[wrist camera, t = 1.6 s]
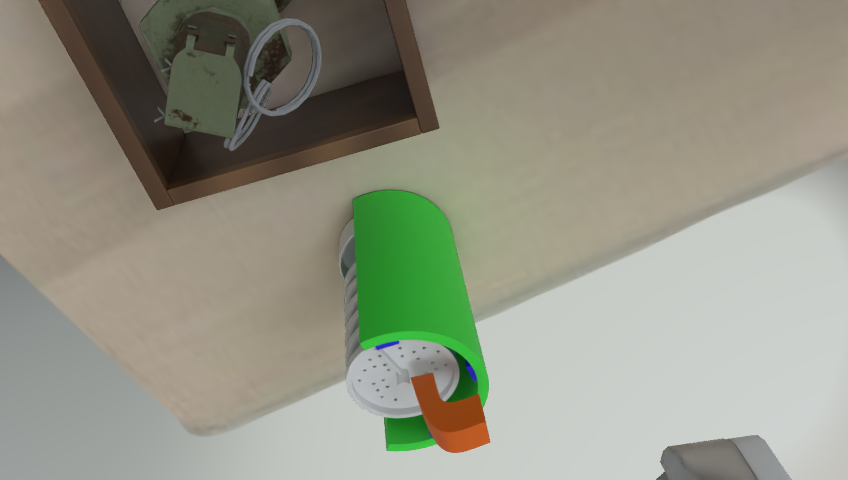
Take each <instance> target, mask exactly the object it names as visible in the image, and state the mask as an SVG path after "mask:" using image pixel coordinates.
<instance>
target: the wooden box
mask: <svg viewBox="0 0 848 480" xmlns="http://www.w3.org/2000/svg"><path fill="white" fill-rule="evenodd" d="M38 1H39V2H40V4H41V6H42V8H43V9H44V11H45V13H46V15H47V17H48V18H49V20H50V22H51V24H52V25H53V27H54V29H55V31H56V32H57V34H58V36H59V38H60V40H61V41H62V43H63V45H64V47H65V48H66V50H67V52H68V54H69V55H70V57H71V59H72V61H73V63H74V64H75V66H76V68H77V70H78V71H79V73H80V75H81V77H82V78H83V80H84V82H85V84H86V86H87V87H88V89H89V91H90V93H91V94H92V96H93V98H94V100H95V101H96V103H97V105H98V107H99V109H100V110H101V112H102V114H103V116H104V117H105V119H106V121H107V123H108V124H109V126H110V128H111V130H112V132H113V133H114V135H115V137H116V139H117V140H118V142H119V144H120V146H121V147H122V149H123V151H124V153H125V155H126V156H127V158H128V160H129V162H130V163H131V165H132V167H133V169H134V170H135V172H136V174H137V176H138V177H139V179H140V181H141V183H142V185H143V186H144V188H145V190H146V192H147V193H148V195H149V197H150V199H151V200H152V202H153V204H154V206H155V208H156V209H157V210H160V209H164V208H167V207H170V206H174V204H175V205H177V204H180V203H184V202H187V201H191V200H194V199H198V198H201V197H205V196H208V195H211V194H215V193H218V192H222V191H225V190H229V189H232V188H236V187H239V186H243V185H246V184H250V183H253V182H256V181H260V180H263V179H267V178H270V177H274V176H277V175H281V174H284V173H288V172H291V171H294V170H298V169H301V168H305V167H308V166H312V165H315V164H319V163H322V162H326V161H329V160H333V159H336V158H339V157H343V156H346V155H350V154H353V153H357V152H360V151H364V150H367V149H371V148H374V147H377V146H381V145H384V144H388V143H391V142H395V141H398V140H402V139H405V138H409V137H412V136H416V135H419V134H421V133H426V132H429V131H433V130H436V129H439V123H438V120H437V116H436V112H435V109H434V105H433V101H432V97H431V94H430V90H429V86H428V82H427V79H426V75H425V71H424V67H423V64H422V60H421V56H420V53H419V49H418V45H417V41H416V38H415V34H414V30H413V26H412V23H411V19H410V15H409V11H408V8H407V4H406V0H384V4H385V7H386V11H387V14H388V18H389V21H390V25H391V28H392V32H393V35H394V39H395V42H396V46H397V49H398V53H399V56H400V60H401V63H402V67H403V71H400V72H396V73H393V74H390V75H386V76H383V77H379V78H376V79H372V80H369V81H366V82H362V83H359V84H355V85H352V86H349V87H345V88H342V89H338V90H335V91H332V92H328V93H325V94H321V95H318V96H315V97H311V98H308V99H306V100H305V101H304V102H303V103H302V104H301V105H300V106H299V107H298V108H296V109H294V110H293V111H291V112H289V113H287V114H285V115H279V116H268V115H265V114H261V116H260V118H259V120H258V122H257V124H256V126H255V127H254V129H253V131H252V132H251V133H250V135H249V136H248V137H247V138H246V140H245V141H244V142H243V143H242V144H241V145H240V146H239V147H237V148H236V149H235V150H233V151H230V150H229V148H225V147H224V141H225V139H226V137H223V136H218V135H213V134H208V133H203V132H198V131H195V132H192V133H188V134H186V135H185V134H184V132H183V130H182V128H177V127H173V126H168V125H165V122H164V121H165V118H163V119H161V120H159V121H156V122H154V120H155V119H157V118H159V117H162V116H163V115H162V113H161V112H160V111H159V110H158V107H159V108H160V109H161V110H162V111H163V112H164V113H166V105H167V98H166V96H165V94H164V92H163V90H162V88H161V86H160V84H159V82H158V80H157V78H156V76H155V74H154V72H153V70H152V68H151V66H150V64H149V62H148V60H147V58H146V56H145V54H144V52H143V50H142V48H141V46H140V44H139V42H138V40H137V38H136V36H135V34H134V32H133V30H132V28H131V26H130V24H129V22H128V20H127V18H126V16H125V14H124V12H123V10H122V8H121V6H120V4H119V2H118V0H38ZM280 107H282V106H280ZM277 108H279V107H277ZM277 108H274V109H277ZM274 109H270V111H274ZM256 115H257V114H256ZM256 115H255V117H256ZM250 116H251V115H250ZM250 116H247V118H246V120H245V122H244V125H243V127H244V126H245V125H246V123H247V121H248V119H249V118H250ZM255 117H254V119H255ZM254 119H253V121H254ZM240 120H241V118H239V119H237V121H236V126H235V128H237V126H238V124H239V122H240ZM253 121H252V122H251V124H252V123H253ZM251 124H250V126H251ZM250 126H249V127H248V129H249V128H250ZM243 127H242V129H243ZM248 129H247V130H246V132H247V131H248ZM246 132H245V133H246ZM234 133H235V132H234ZM245 133H244V134H243V135H242V136H241V138H242V137H243V136H244V135H245ZM241 138H240V139H241ZM240 139H239V140H240ZM231 140H232V138H231ZM231 140H230V141H231ZM239 140H238V141H239ZM238 141H236V142H235V144H236V143H237V142H238Z"/></svg>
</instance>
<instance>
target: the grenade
mask: <svg viewBox="0 0 848 480" xmlns="http://www.w3.org/2000/svg"><path fill="white" fill-rule="evenodd" d="M290 1H291V0H158V1H157V2H156V3H155V4H154V6H153V7H152V8H151V9H150V10H149V12H148V13H147V14H146V15H145V17H144V18H143V20H142V21H141V23H140V24H139V26H140V29H141V31H142V34H143V36H144V39H145V41H146V44H147V46H148V48H149V50H150V52H151V54H152V56H153V58H154V60H155V62H156V65H157V67H158V69H159V71H160V73H161V75H162V77H163V79H164V81H165V82H166V84H167V86H168V88H169V89H168V97H167V105H166V113H164V112H163V111H162V110H161V109H160V108H159V107H158V110H159V111H160V112H161V113H162V115H163V116H162V117H159V118H157V119H155V120H154V122H156V121H159V120H161V119H163V118H165V121H164V122H165V125H168V126H173V127H177V128H182V129H188V130H193V131H198V132H203V133H208V134H213V135H218V136H223V137H226V139H225V141H224V147H225V148H229V150H230V151H233V150H235V149H236V148H237V147H239V146H240V145H241V144H242V143H243V142H244V141H245V140H246V138H247V137H248V136H249V135H250V133H251V132H252V131H253V129H254V127H255V126H256V124H257V122H258V120H259V118H260V116H261V114H265V115H268V116H279V115H285V114H287V113H289V112H291V111H293V110H294V109H296V108H298V107H299V106H300V105H301V104H302V103H303V102H304V101H305V100H306V99H307V98H308V96H309V94H310V93H311V91H312V89H313V88H314V86H315V84H316V82H317V79H318V76H319V72H320V69H321V59H322V50H321V46H320V42H319V38H318V36H317V35H316V33H315V32H314V30H313V29H312V28H311V26H310V25H308V24H306V23H304V22H302V21H300V20H299V19H291V18H284V19H282V20H281V18H280V15H279V13H280V12H281V11H282V10H283V9H284V8H285V6H286V5H287V4H288V3H289V2H290ZM286 26H299V27H301V28H302V29H303V30H305V31H306V32H307V34H308V36H309V38H310V40H311V44H312V50H313V58H312V67H311V71H310V73H309V76H308V79H307V81H306V84H305V85H304V86H303V88H302V89H301V91H300V92H299V94H298V95H297V96H296V97H295V98H294V99H293V100H291V101H290V102H289V103H288V104H287V105H284V106H282V107H279V108H277V109H274V111H270V110H267V109H265V105H266V103H267V101H268V98H269V96H270V93H271V90H272V87H273V85H272V84H271V82H272V81H273V80H274V79H275V78H276V77H277V76H278V75H279V74H280V72H281V71H282V70H283V69H284V68H285V67H286V65H287V64H288V63H289V62H290V61H291V56H292V50H291V47H290V44H289V41H288V38H287V35H286V32H285V29H284V27H286ZM266 91H267V93H266V95H265V92H266ZM264 95H265V97H264ZM263 97H264V100H263V102H262V99H263ZM255 99H256V100H255ZM261 102H262V104H261ZM260 104H261V107H260ZM251 107H252V108H251ZM240 108H241V109H245V108H246V109H245V111H244V113H243V115H242V118H241V120H240V122H239V124H238V126H237V128H235V126H236V121H237V116H238V113H239V109H240ZM250 109H251V110H250ZM249 111H250V113H251V116H250V118H249V119H248V121H247V123H246V125H245V126H244V127H243V125H244V122H245V120H246V118H247V116H248V114H249ZM257 111H258V113H257ZM256 113H257V115H256ZM255 115H256V117H255ZM254 117H255V119H254ZM253 119H254V121H253ZM252 121H253V123H252V124H251V122H252ZM250 124H251V126H250ZM249 126H250V128H249V129H248V127H249ZM242 127H243V129H242ZM247 129H248V131H247V132H246V130H247ZM234 132H235V133H234ZM245 132H246V133H245ZM244 133H245V135H244V136H243V137H242V138H241V136H242V135H243V134H244ZM231 138H232V140H231ZM240 138H241V139H240ZM239 139H240V140H239ZM230 140H231V141H230ZM238 140H239V141H238ZM236 141H238V142H237V143H236V144H235V142H236Z"/></svg>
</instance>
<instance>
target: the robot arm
mask: <svg viewBox="0 0 848 480" xmlns="http://www.w3.org/2000/svg"><path fill="white" fill-rule="evenodd" d="M660 462H661V464H662V466H663V468H664V470H665V472H664V473H663V474H662V475H661V476H660V477H658V478H657V479H656V480H791V478H790V477H789V475H788V474H787V472H786V471H785V470H784V468H783V466H782V465H781V464H780V462H779V461H778V459H777V458H776V456H775V455H774V453H773V452H772V450H771V449H770V447H769V446H768V445H767V443H766V442H765V440H764V439H762V438H760V437H759V436H758V435H752V436H745V437H738V438H732V439H717V440H710V441H703V442H697V443H689V444H682V445H676V446H669V447H667V448H666V449H665V450H664V451H663V454H662V457H661V461H660Z"/></svg>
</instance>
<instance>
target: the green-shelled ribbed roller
mask: <svg viewBox="0 0 848 480" xmlns="http://www.w3.org/2000/svg"><path fill="white" fill-rule="evenodd" d="M353 215H354V217H353V218H352V219H351V220H350V221H349V222H348V223H347V225H346V226H345V228H344V229H343V231H342V233H341V236H340V240H339V270H340V274H341V277H342V279H343V281H344V298H345V299H344V309H345V346H346V384H347V389H348V392H349V394H350V396H351V398H352V399H353V400H354V401H355V403H356V404H358V405H359V406H360V407H361V408H363V409H364V410H366V411H368V412H370V413H372V414H375V415H379V416H382V417H384V424H385V435H386V448H387V451H409V450H416V449H421V448H426V447H429V446H433V445H435V444H438V445H439V446H440V447H441V448H442V449H444V450H445V451H447V452H451V453H459V452H464V451H467V450H471V449H474V448H477V447H479V446H482V445H485V444H487V443H490V439H489V434H488V430H487V426H486V421H485V416H484V412H483V407H484V404H485V402H486V399H487V395H488V390H489V381H488V375H487V371H486V367H485V363H484V359H483V355H482V351H481V347H480V343H479V339H478V335H477V331H476V327H475V323H474V319H473V314H472V310H471V306H470V302H469V298H468V294H467V290H466V286H465V282H464V278H463V274H462V270H461V266H460V262H459V258H458V254H457V250H456V246H455V242H454V238H453V234H452V230H451V227H450V224H449V222H448V220H447V218H446V217H445V215H444V214H443V213H442V211H441V210H440V209H439V208H438V207H437V206H435V205H434V204H433V203H432V202H430V201H429V200H427V199H425V198H423V197H421V196H419V195H416V194H413V193H410V192H405V191H398V190H383V191H376V192H372V193H368V194H365V195H362V196H360V197H357V198H355V199H353Z"/></svg>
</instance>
